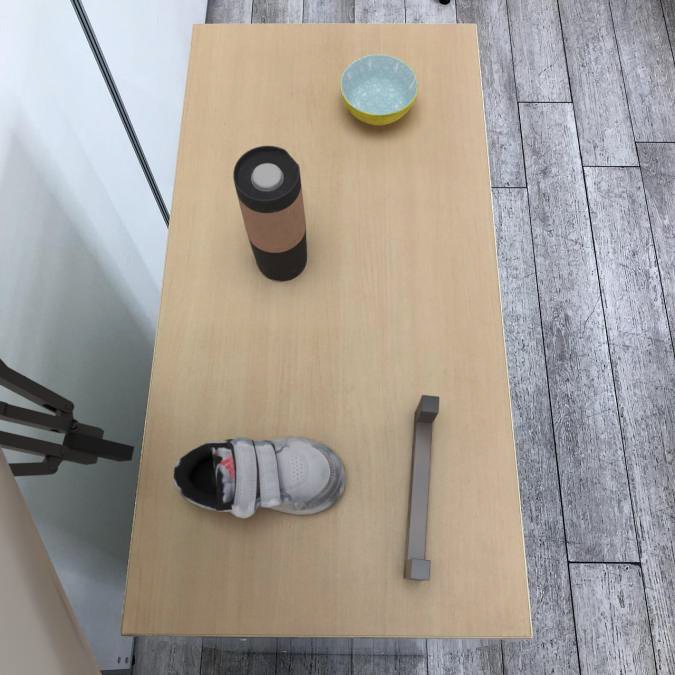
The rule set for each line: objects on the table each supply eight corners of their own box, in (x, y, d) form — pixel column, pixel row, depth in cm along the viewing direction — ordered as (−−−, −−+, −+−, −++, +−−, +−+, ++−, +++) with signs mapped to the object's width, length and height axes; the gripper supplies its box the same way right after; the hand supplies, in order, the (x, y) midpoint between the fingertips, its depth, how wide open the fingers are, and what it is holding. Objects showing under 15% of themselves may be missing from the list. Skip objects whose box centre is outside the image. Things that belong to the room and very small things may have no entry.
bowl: (396, 153, 95) (399, 125, 89) (327, 126, 97) (326, 97, 91) (425, 99, 99) (430, 69, 93) (358, 74, 100) (360, 43, 95)
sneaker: (345, 523, 75) (346, 515, 66) (182, 525, 75) (160, 517, 66) (344, 438, 79) (345, 418, 70) (189, 439, 79) (169, 420, 70)
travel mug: (250, 279, 87) (225, 197, 69) (260, 232, 90) (239, 140, 71) (304, 286, 87) (294, 205, 68) (313, 238, 90) (305, 148, 71)
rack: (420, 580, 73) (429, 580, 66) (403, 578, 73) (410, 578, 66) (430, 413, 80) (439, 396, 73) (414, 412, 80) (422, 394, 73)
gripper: (-110, 332, 58) (124, 400, 73) (-166, 474, 53) (96, 515, 68) (-91, 315, 53) (157, 392, 68) (-152, 471, 48) (129, 516, 63)
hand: (126, 454), depth 68 cm, fingers closed
